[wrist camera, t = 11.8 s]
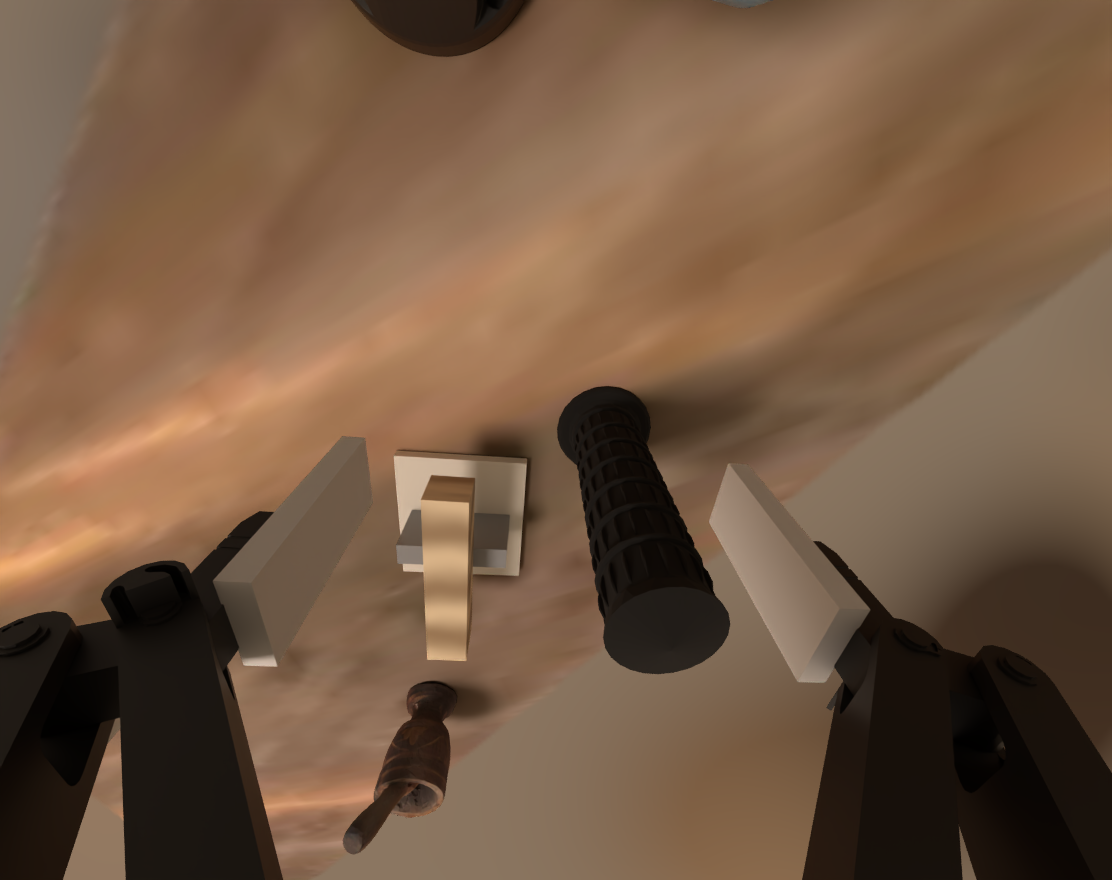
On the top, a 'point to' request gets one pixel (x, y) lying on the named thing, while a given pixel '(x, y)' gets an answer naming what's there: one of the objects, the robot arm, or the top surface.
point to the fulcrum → (492, 510)
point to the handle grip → (638, 540)
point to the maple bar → (448, 565)
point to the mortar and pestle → (410, 766)
